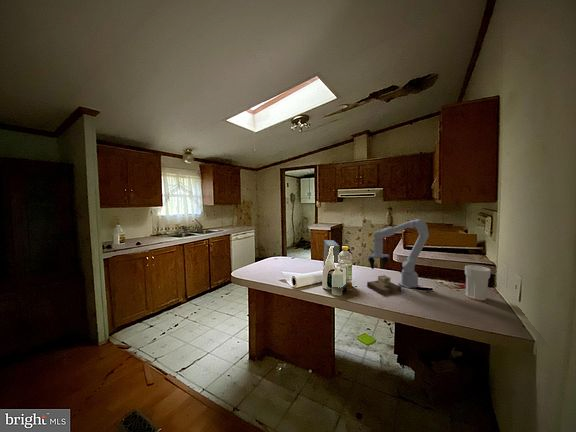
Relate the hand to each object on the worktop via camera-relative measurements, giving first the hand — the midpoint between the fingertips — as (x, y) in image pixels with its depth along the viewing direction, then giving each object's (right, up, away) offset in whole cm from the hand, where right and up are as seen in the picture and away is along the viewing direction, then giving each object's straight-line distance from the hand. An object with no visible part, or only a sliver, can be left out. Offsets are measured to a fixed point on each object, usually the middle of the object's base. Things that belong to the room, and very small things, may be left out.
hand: (377, 268), depth 157 cm
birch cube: (-1, -8, -12) cm, 14 cm away
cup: (+46, -11, -25) cm, 54 cm away
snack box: (-30, -9, +10) cm, 33 cm away
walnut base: (-1, -10, -12) cm, 16 cm away
